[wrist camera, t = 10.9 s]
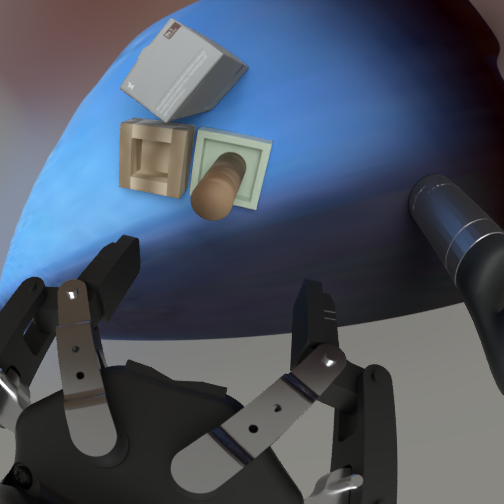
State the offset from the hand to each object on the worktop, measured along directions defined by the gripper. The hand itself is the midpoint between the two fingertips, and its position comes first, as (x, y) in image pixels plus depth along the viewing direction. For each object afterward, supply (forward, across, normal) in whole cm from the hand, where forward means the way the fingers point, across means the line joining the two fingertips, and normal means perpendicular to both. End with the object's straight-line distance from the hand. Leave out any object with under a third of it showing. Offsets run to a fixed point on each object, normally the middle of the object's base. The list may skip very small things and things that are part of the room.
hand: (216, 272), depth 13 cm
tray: (+29, +4, +5) cm, 30 cm away
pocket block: (+29, +15, +5) cm, 33 cm away
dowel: (+29, +4, +5) cm, 29 cm away
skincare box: (+29, +9, -8) cm, 32 cm away
